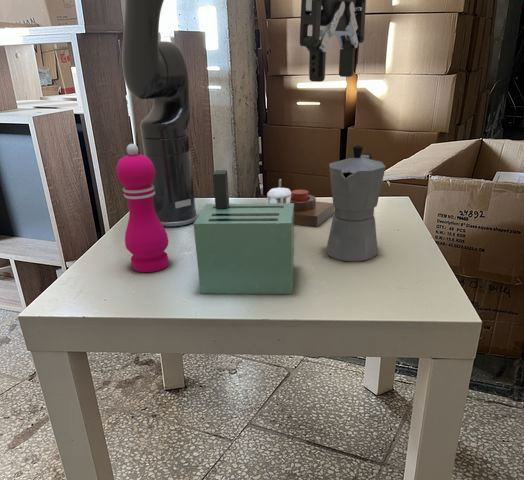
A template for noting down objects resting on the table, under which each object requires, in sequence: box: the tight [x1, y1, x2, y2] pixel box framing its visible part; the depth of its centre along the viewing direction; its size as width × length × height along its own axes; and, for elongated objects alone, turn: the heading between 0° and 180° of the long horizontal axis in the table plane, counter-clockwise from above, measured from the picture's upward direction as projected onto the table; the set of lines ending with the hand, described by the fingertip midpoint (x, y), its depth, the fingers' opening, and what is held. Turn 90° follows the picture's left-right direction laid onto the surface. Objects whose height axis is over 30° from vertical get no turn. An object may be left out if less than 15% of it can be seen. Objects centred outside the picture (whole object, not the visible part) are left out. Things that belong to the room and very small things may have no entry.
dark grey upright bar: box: [212, 169, 230, 209], centre depth 79 cm, size 2×2×5 cm
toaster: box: [192, 202, 295, 295], centre depth 80 cm, size 14×10×11 cm
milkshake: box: [266, 178, 292, 203], centre depth 99 cm, size 4×5×10 cm
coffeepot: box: [326, 144, 387, 262], centre depth 88 cm, size 15×9×18 cm, turn 157°
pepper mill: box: [115, 143, 170, 273], centre depth 85 cm, size 7×7×20 cm
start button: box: [291, 189, 310, 201], centre depth 109 cm, size 4×4×2 cm
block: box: [291, 194, 335, 228], centre depth 110 cm, size 12×10×4 cm
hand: (331, 78), depth 78 cm, fingers open, 8 cm apart
